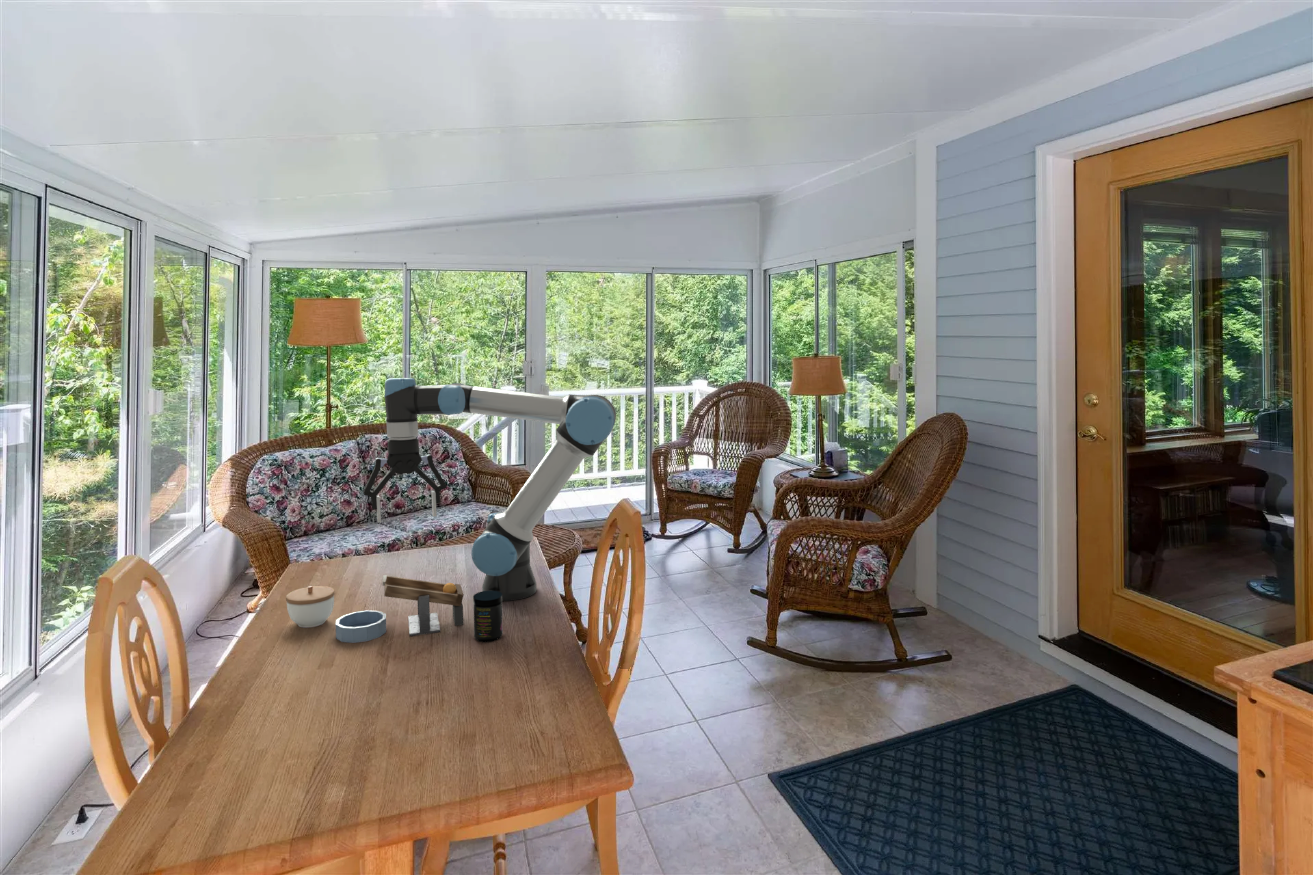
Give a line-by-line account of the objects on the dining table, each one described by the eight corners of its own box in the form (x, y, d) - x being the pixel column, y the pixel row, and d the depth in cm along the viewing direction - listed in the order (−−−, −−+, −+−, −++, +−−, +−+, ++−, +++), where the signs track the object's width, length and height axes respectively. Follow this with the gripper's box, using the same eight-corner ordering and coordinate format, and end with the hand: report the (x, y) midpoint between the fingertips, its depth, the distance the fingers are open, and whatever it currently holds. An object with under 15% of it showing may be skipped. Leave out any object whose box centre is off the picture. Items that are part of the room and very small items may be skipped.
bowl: (386, 621, 168) (385, 608, 167) (386, 638, 157) (385, 624, 157) (338, 627, 163) (337, 613, 163) (334, 645, 153) (334, 630, 153)
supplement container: (503, 641, 157) (502, 599, 155) (473, 644, 155) (473, 601, 154) (502, 630, 163) (501, 589, 162) (473, 633, 161) (473, 591, 160)
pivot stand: (437, 614, 172) (436, 580, 171) (440, 632, 161) (439, 595, 160) (408, 618, 170) (407, 583, 169) (409, 636, 159) (408, 599, 158)
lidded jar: (315, 633, 160) (313, 595, 159) (277, 629, 162) (275, 592, 161) (344, 616, 170) (343, 581, 169) (308, 613, 172) (306, 578, 171)
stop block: (460, 615, 172) (460, 598, 171) (463, 624, 166) (463, 605, 166) (452, 616, 171) (452, 598, 171) (455, 625, 166) (454, 606, 165)
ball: (453, 594, 169) (457, 582, 169) (454, 598, 166) (458, 586, 166) (440, 591, 168) (445, 579, 168) (441, 595, 165) (446, 583, 165)
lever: (455, 588, 177) (458, 577, 177) (460, 606, 165) (463, 594, 165) (382, 578, 170) (385, 567, 170) (382, 596, 157) (385, 583, 157)
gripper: (450, 433, 180) (454, 510, 183) (349, 439, 170) (354, 520, 172) (455, 436, 173) (458, 516, 176) (349, 442, 163) (355, 527, 165)
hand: (407, 518), depth 174 cm, fingers open, 13 cm apart
